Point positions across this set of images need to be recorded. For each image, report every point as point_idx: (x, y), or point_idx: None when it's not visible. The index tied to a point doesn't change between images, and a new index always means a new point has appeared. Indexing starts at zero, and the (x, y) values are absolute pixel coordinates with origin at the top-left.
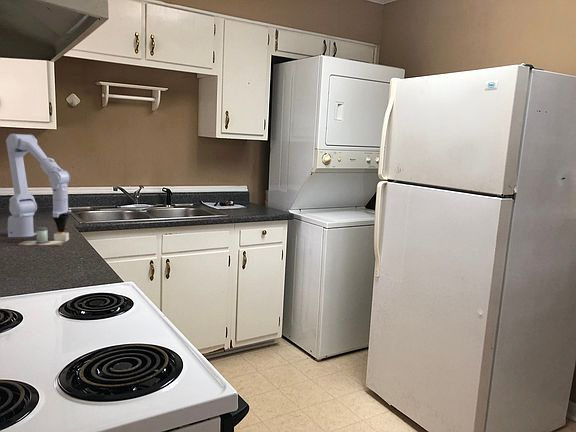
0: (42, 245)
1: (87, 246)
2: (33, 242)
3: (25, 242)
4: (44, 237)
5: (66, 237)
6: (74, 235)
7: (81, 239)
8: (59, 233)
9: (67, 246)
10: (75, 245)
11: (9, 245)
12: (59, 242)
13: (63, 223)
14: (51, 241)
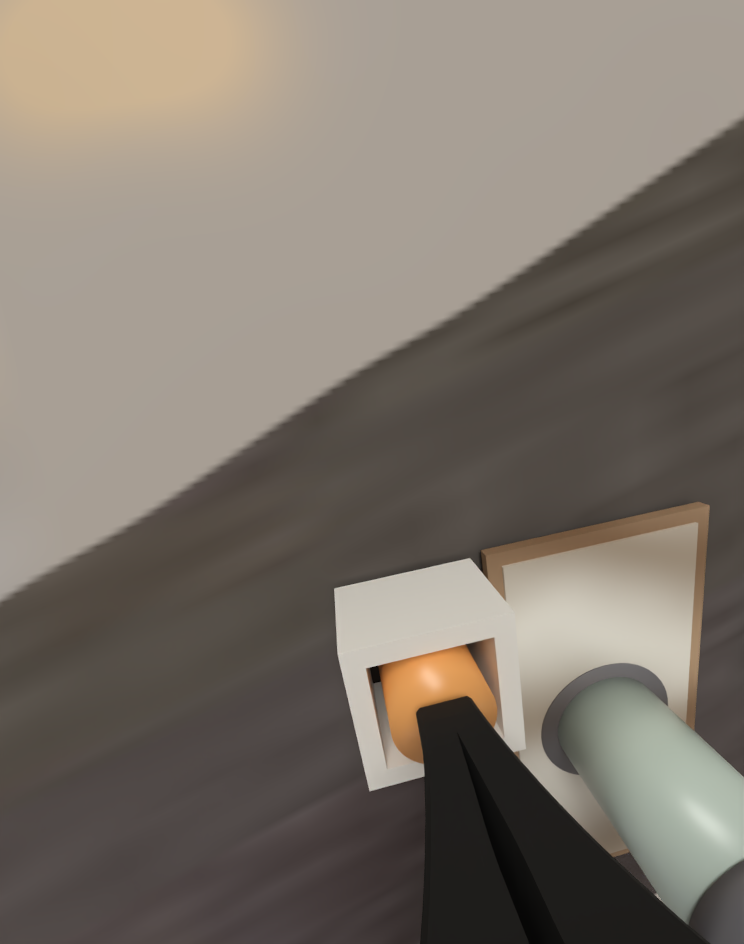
0: (690, 660)
1: (697, 162)
2: None
3: (608, 835)
4: (704, 741)
5: (452, 591)
6: (12, 670)
7: (254, 455)
8: (494, 712)
9: (690, 424)
10: (637, 357)
11: (644, 876)
12: (595, 572)
13: (621, 879)
14: (547, 674)
